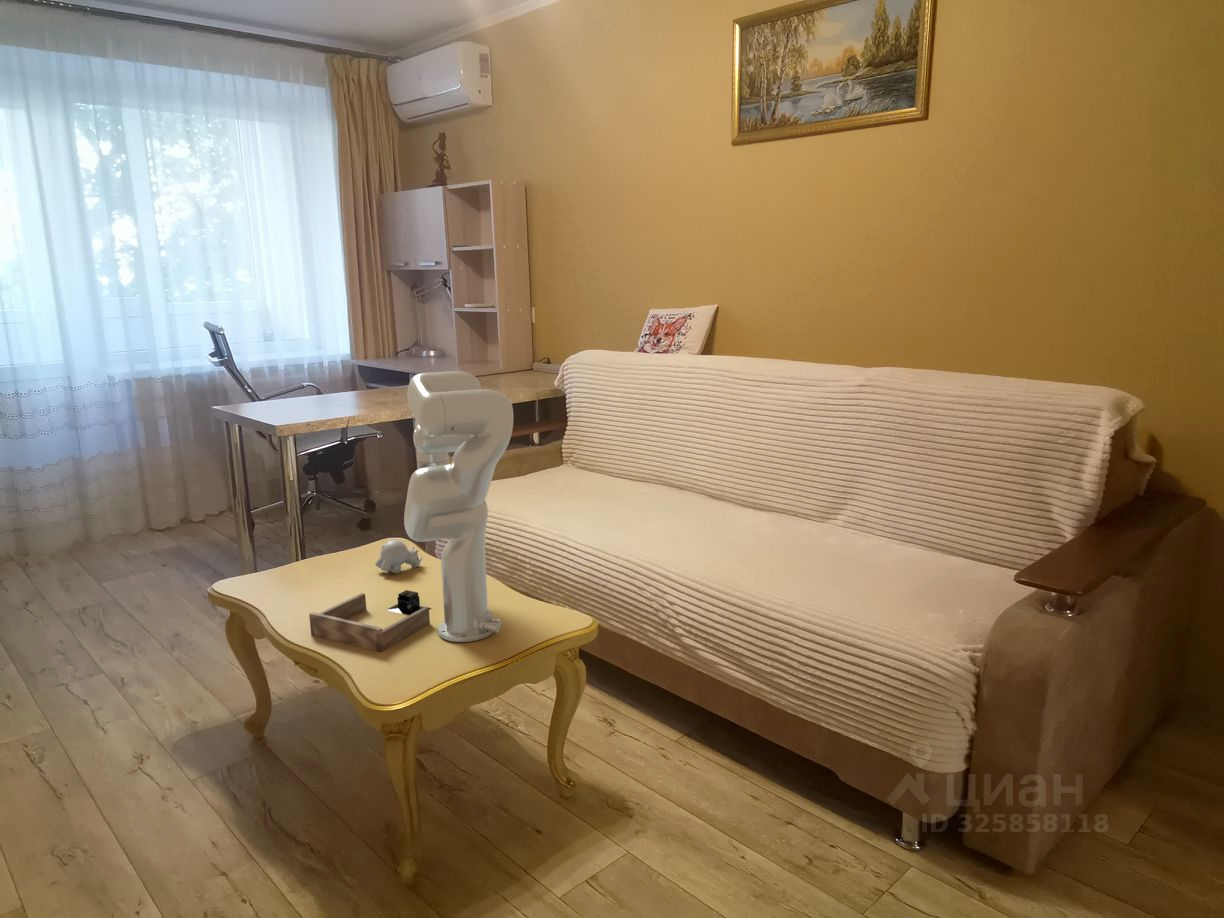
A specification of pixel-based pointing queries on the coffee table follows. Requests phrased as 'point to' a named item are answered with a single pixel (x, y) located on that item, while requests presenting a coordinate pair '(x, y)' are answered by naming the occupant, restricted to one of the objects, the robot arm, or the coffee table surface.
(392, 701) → the coffee table surface
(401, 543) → the white animal figurine
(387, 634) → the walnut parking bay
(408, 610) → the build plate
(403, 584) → the coffee table surface
